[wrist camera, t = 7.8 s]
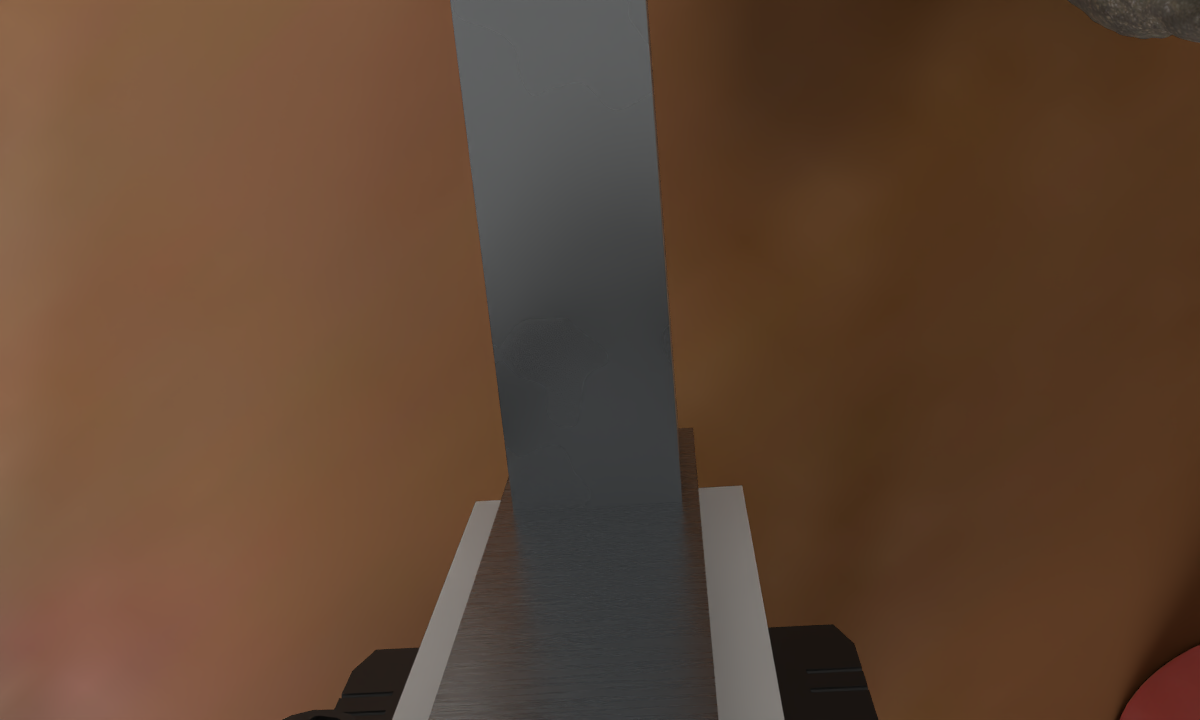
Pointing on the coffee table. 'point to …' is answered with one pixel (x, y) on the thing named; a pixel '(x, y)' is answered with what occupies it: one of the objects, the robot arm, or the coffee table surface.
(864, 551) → the coffee table surface
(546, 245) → the crook
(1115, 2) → the dog figurine
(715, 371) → the coffee table surface
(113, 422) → the coffee table surface
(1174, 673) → the flower pot
